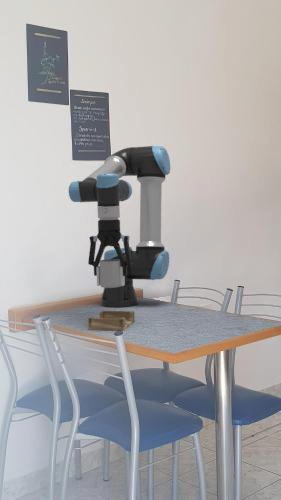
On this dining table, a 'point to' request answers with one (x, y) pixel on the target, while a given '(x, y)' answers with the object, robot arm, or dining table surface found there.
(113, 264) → the cup
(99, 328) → the caddy
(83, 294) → the dining table surface
